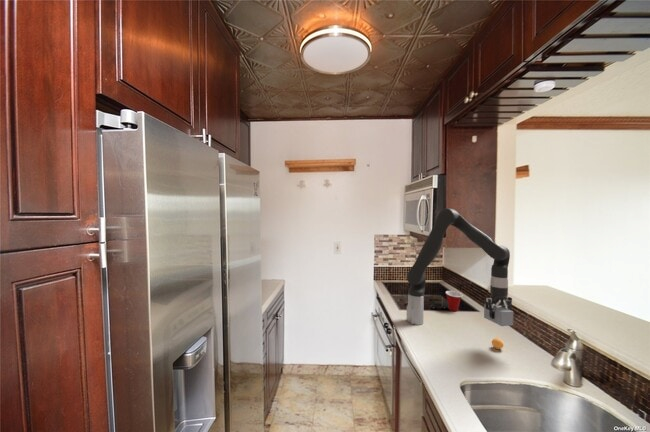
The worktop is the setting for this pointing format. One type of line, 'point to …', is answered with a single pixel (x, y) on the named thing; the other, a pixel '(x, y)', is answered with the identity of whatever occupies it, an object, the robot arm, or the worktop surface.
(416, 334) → the worktop surface
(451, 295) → the plastic cup
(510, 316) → the grey rectangular brick
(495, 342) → the ball
